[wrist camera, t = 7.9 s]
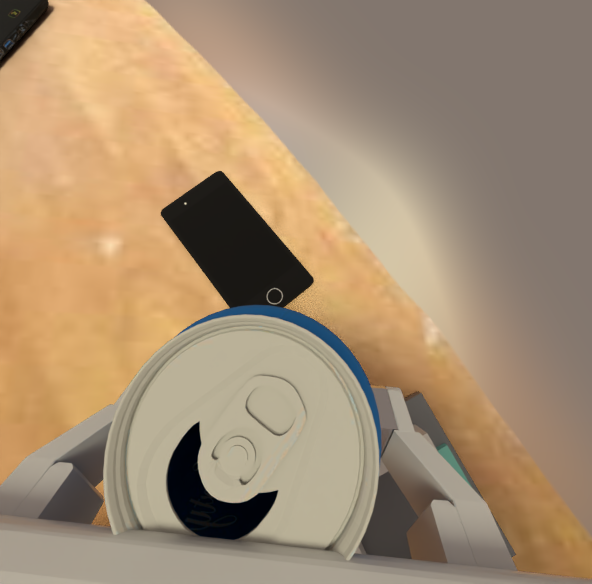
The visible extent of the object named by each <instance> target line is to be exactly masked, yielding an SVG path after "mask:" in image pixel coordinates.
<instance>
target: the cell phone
mask: <svg viewBox="0 0 592 584" xmlns="http://www.w3.org/2000/svg"><path fill="white" fill-rule="evenodd" d="M161 216H162V217H163V218H164V220H165V221H166V222H167V224H168V225H169V226H170V228H171V229H172V230H173V232H174V233H175V234H176V236H177V237H178V238H179V240H180V241H181V242H182V244H183V245H184V247H185V248H186V249H187V251H188V252H189V253H190V255H191V256H192V257H193V259H194V260H195V261H196V263H197V264H198V265H199V267H200V268H201V269H202V271H203V272H204V273H205V275H206V276H207V277H208V279H209V280H210V281H211V283H212V284H213V285H214V287H215V288H216V289H217V291H218V292H219V294H220V295H221V296H222V298H223V299H224V300H225V302H226V303H227V304H228V306H229V307H230V308H234V307H238V306H247V305H270V306H276V307H281V308H283V307H285V306H286V305H287V304H288V303H290V302H291V301H292V300H293V299H295V298H296V297H297V296H298V295H300V294H301V293H302V292H303V291H305V290H306V289H307V288H308V287H310V286H311V285H312V283H313V277H312V276H311V275H310V274H309V273H308V271H307V270H306V269H305V268H304V267H303V266H302V264H301V263H300V262H299V261H298V260H297V259H296V257H295V256H294V255H293V254H292V253H291V252H290V250H289V249H288V248H287V247H286V246H285V244H284V243H283V242H282V241H281V240H280V239H279V237H278V236H277V235H276V234H275V233H274V232H273V230H272V229H271V228H270V227H269V226H268V225H267V223H266V222H265V221H264V220H263V219H262V218H261V216H260V215H259V214H258V213H257V212H256V211H255V209H254V208H253V207H252V206H251V205H250V203H249V202H248V201H247V200H246V199H245V198H244V196H243V195H242V194H241V193H240V192H239V191H238V189H237V188H236V187H235V186H234V185H233V184H232V182H231V181H230V180H229V179H228V178H227V177H226V175H225V174H224V173H223V172H222V171H218V172H216V173H214V174H212V175H211V176H210V177H208V178H207V179H205V180H204V181H202V182H201V183H200V184H198V185H197V186H195V187H194V188H192V189H191V190H189V191H188V192H187V193H185V194H184V195H182V196H181V197H179V198H178V199H177V200H175V201H174V202H172V203H171V204H169V205H168V206H167V207H165V208H164V209H163V210H162V211H161Z"/></svg>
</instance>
